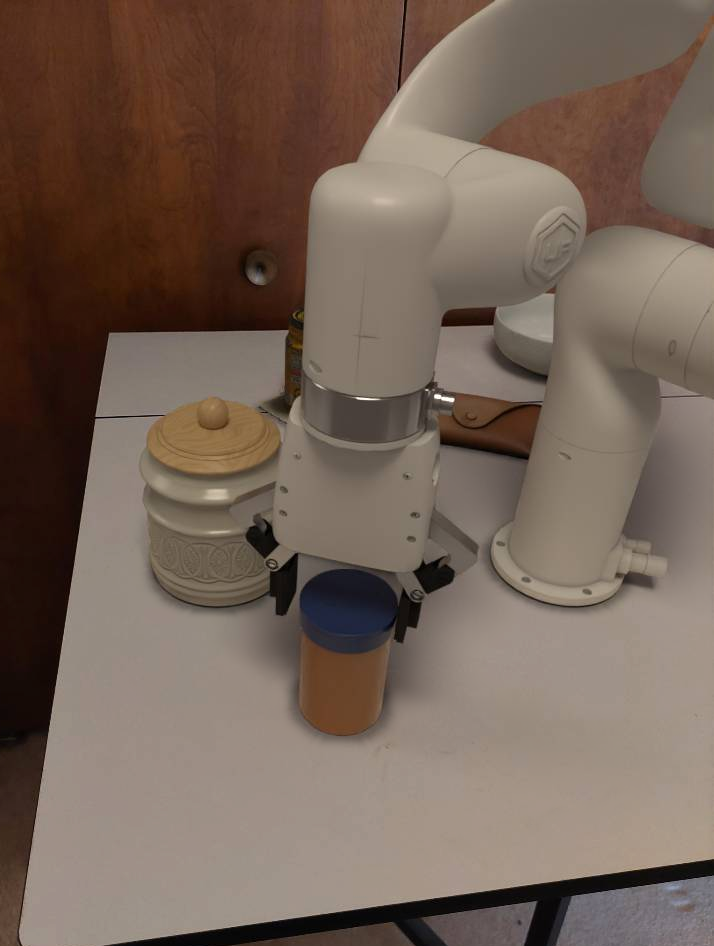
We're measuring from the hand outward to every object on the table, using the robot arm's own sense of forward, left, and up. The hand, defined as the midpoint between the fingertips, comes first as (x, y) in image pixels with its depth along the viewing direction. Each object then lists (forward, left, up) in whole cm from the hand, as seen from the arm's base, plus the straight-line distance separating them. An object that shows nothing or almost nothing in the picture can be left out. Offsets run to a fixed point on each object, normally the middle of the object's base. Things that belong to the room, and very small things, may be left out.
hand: (343, 615), depth 57 cm
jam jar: (0, 0, -10) cm, 10 cm away
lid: (0, 0, +1) cm, 1 cm away
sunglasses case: (-5, -46, -10) cm, 47 cm away
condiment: (+16, -45, -10) cm, 49 cm away
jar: (+15, -14, -10) cm, 22 cm away
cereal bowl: (-14, -68, -10) cm, 70 cm away
